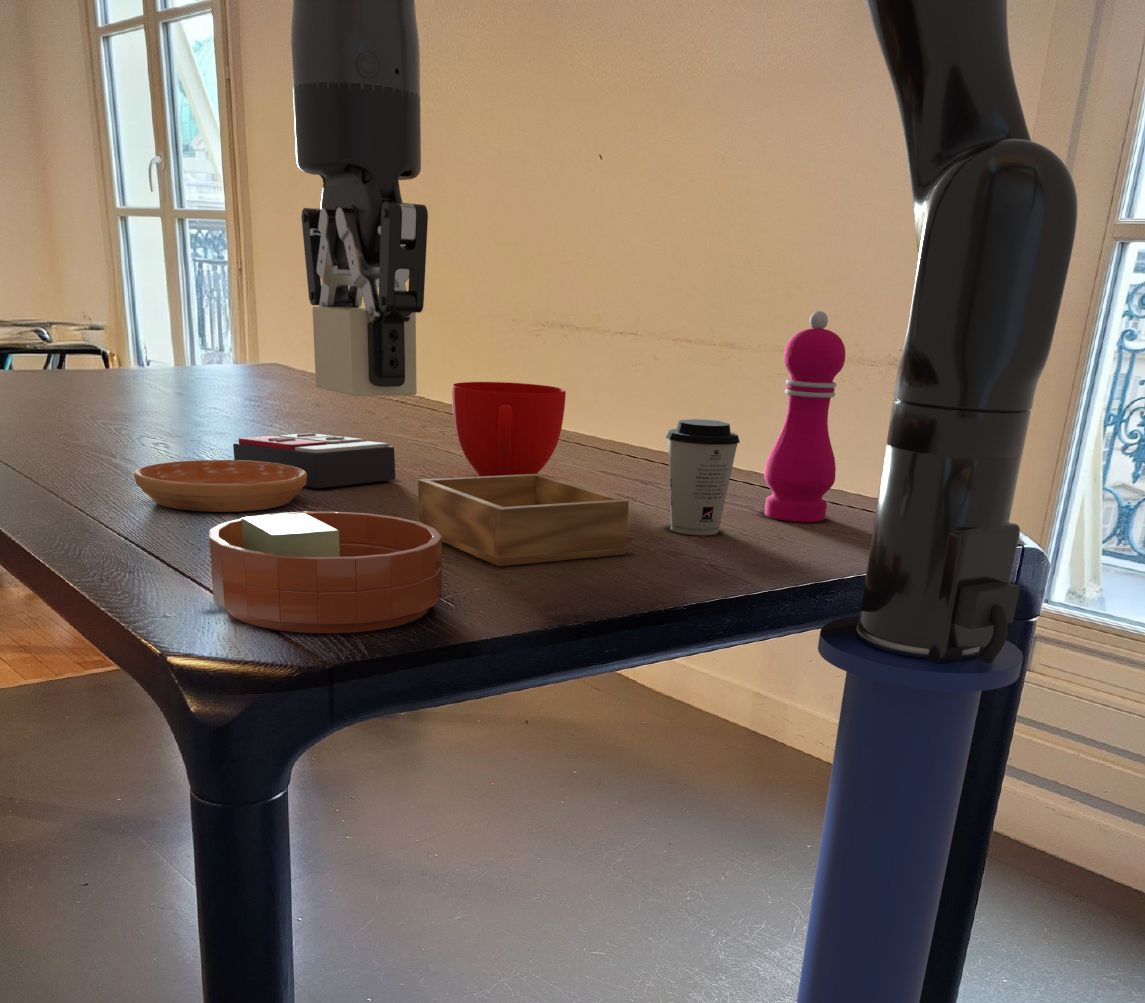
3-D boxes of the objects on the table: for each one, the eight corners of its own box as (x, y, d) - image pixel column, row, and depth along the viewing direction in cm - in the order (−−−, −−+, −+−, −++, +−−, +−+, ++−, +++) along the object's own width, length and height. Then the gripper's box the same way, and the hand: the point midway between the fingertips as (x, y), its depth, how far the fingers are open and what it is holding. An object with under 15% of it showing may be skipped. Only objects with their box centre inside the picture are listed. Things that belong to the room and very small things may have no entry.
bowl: (479, 621, 77) (480, 547, 75) (259, 648, 69) (254, 567, 68) (384, 571, 89) (383, 506, 87) (186, 589, 81) (180, 518, 79)
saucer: (138, 487, 116) (135, 457, 115) (299, 487, 121) (297, 458, 120) (135, 518, 102) (131, 484, 101) (317, 516, 107) (315, 484, 106)
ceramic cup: (443, 489, 124) (443, 392, 120) (455, 465, 140) (456, 379, 136) (562, 494, 125) (566, 399, 121) (561, 470, 140) (565, 385, 136)
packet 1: (341, 605, 76) (339, 530, 75) (275, 612, 74) (272, 535, 72) (308, 584, 81) (305, 513, 79) (245, 590, 79) (241, 517, 77)
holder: (625, 554, 99) (629, 500, 97) (498, 566, 92) (499, 509, 90) (536, 522, 110) (538, 473, 108) (418, 531, 103) (417, 479, 102)
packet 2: (417, 394, 74) (415, 311, 72) (352, 395, 72) (349, 310, 70) (377, 386, 79) (375, 308, 77) (315, 387, 76) (311, 306, 74)
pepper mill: (801, 526, 115) (828, 312, 107) (745, 513, 120) (767, 308, 112) (843, 519, 119) (872, 313, 112) (788, 507, 124) (812, 309, 116)
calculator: (311, 430, 135) (395, 439, 126) (313, 468, 136) (397, 479, 127) (230, 436, 127) (314, 446, 118) (234, 475, 129) (317, 488, 119)
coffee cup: (726, 540, 106) (737, 429, 103) (652, 533, 108) (661, 423, 104) (734, 526, 113) (745, 421, 109) (664, 520, 114) (672, 416, 110)
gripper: (470, 81, 65) (468, 391, 72) (365, 105, 76) (372, 372, 82) (346, 63, 61) (356, 393, 68) (254, 91, 72) (271, 372, 79)
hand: (365, 380), depth 75 cm, fingers closed on packet 2, 6 cm apart
